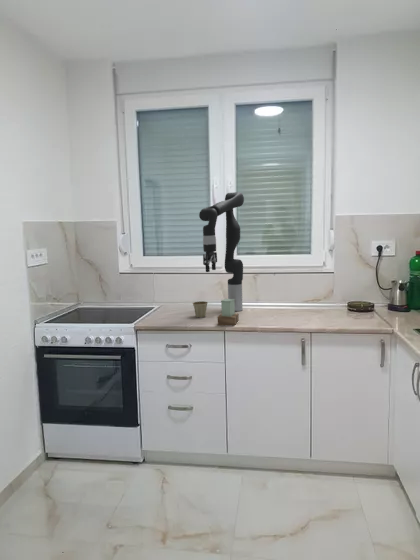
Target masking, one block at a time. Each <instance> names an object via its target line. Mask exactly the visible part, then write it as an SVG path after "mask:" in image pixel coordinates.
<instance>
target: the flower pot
mask: <svg viewBox="0 0 420 560" xmlns="http://www.w3.org/2000/svg"><path fill="white" fill-rule="evenodd" d="M208 303H209V302H208V301H205V300H204V301H202V300H201V301H194V302H192V306H193V308H194V309H193V310H194V313H195V317H196V318H198V317H202V318H206V317H207V307H208ZM205 316H206V317H205Z"/></svg>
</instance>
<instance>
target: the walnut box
mask: <svg viewBox="0 0 420 560" xmlns="http://www.w3.org/2000/svg"><path fill="white" fill-rule="evenodd" d="M239 317H240V316H239V313H235V315H233V316H231V317H229V316H222V312H221V313H220V314H219V315H218V316H217V326H225V325H238V323H239V322H238V321H240V320H239ZM237 322H238V323H237Z"/></svg>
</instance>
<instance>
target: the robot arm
mask: <svg viewBox="0 0 420 560" xmlns="http://www.w3.org/2000/svg"><path fill="white" fill-rule="evenodd" d="M244 202H245V197H244V194H243V193H242V192H238V191H237V192H228V193H226V194H225V196H224V200H222V201H218V202H217V203H215V204H213V205H212V206H207V207H204V208H202V209H201V210H200V211H199V212H198V213H199V214H198V217H199V218H200V219H199V220H201V221H203V222H208V224H206V225H204V226H203V227H202V245H203V247H202V248H203V249H202V251H203V252H204V253H205V254H203V255H202V261H203V262H202V263H203V265H204V266H205V273H210V268H211V270H212V271H216V268H217V266H216V264H217V262H218V253H217V239H216V225H217V222H218V217H219V216H221V215H222V214H224V213H225V253H224V255H225V256H224V270H225V272H226V273H227V274H232V277H230V278H228V279H227V299H235V301H234V305H235V312H241V311H243V280H244V264H243V261H242V260H241V259H239V258H235V257H234V256H235V252H236V251H235V250H236V248H237V246H238V245H239V242H240V240H241V226H240V224H239V223H238V220H237V219H236V217H235V214H234V213H235V212H234V209H235V208H239V207H242V206H243V205H244ZM210 263H211V267H210Z"/></svg>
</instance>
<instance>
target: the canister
mask: <svg viewBox="0 0 420 560" xmlns="http://www.w3.org/2000/svg"><path fill="white" fill-rule="evenodd" d="M234 301H235V299H228V298H224V299H222V300H220V304H221V306H220V307H221V313H222V316H229V317H231V316H233V315H235V314H236V311H235V305H234Z"/></svg>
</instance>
